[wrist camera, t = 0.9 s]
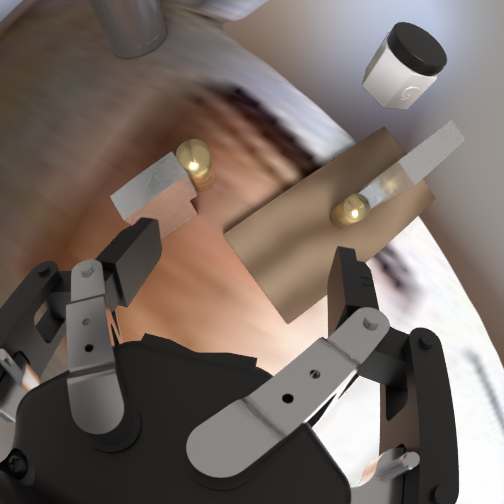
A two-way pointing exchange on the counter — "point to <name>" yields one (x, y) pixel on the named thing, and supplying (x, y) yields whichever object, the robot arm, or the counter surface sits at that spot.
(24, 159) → the counter surface
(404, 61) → the jar
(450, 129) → the fixed leaf
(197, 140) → the brushed metal block
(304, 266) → the jig board
